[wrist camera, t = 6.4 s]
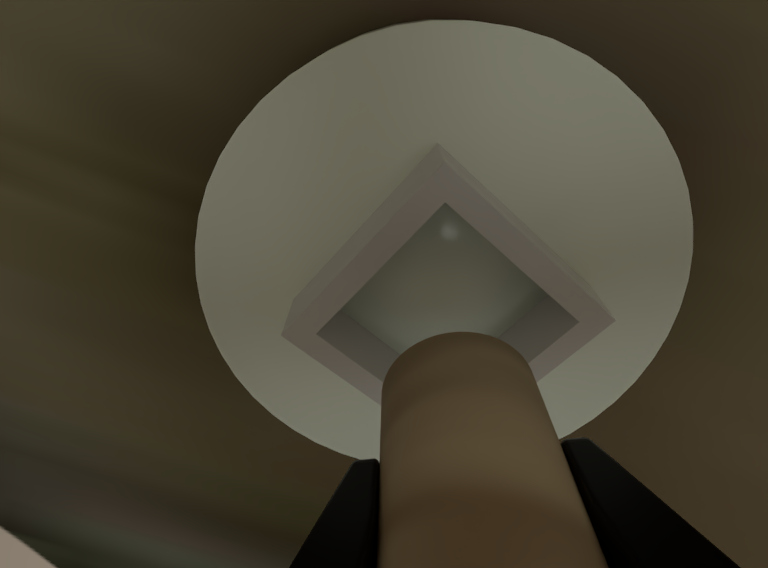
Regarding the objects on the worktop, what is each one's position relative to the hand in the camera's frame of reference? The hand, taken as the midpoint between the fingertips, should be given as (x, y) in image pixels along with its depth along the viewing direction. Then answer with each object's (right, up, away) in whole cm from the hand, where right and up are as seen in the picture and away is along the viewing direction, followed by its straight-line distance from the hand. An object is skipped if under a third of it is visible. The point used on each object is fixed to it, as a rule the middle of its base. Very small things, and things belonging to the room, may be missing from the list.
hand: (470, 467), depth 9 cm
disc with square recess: (0, +5, +9) cm, 10 cm away
